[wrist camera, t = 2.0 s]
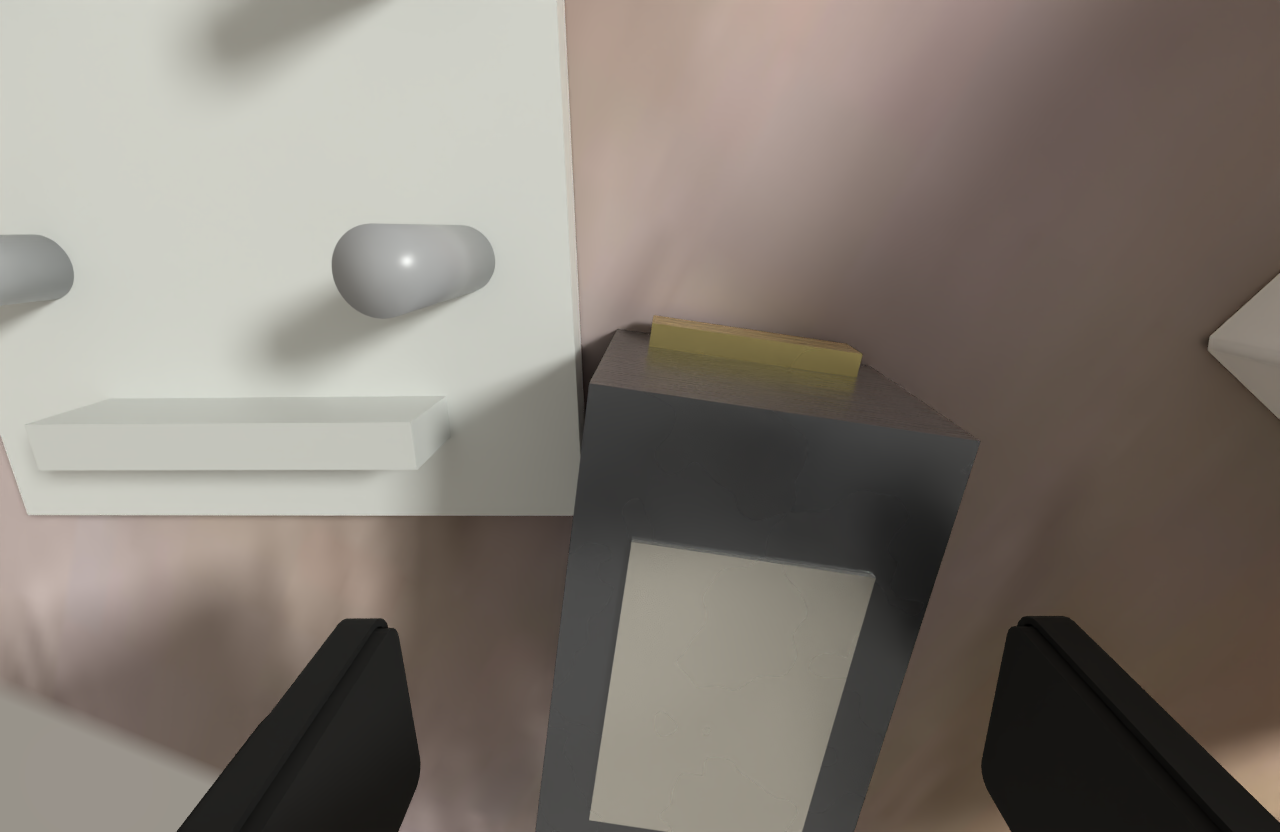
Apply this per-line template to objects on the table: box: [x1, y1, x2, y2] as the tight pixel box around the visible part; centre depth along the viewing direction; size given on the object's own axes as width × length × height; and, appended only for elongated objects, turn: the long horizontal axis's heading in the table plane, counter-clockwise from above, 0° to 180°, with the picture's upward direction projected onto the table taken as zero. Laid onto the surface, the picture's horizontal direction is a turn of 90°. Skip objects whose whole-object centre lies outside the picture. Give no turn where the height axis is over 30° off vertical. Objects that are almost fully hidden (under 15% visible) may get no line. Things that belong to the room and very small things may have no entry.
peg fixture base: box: [0, 0, 585, 516], centre depth 11 cm, size 18×14×5 cm
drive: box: [535, 315, 980, 832], centre depth 13 cm, size 10×6×6 cm, turn 172°
